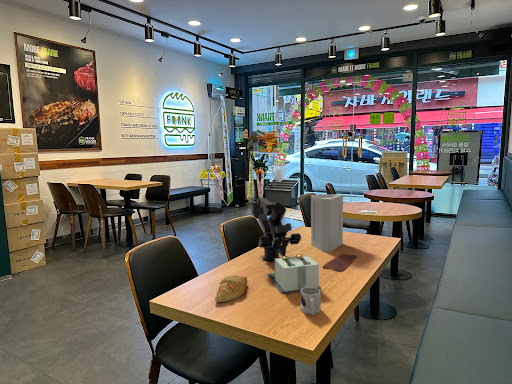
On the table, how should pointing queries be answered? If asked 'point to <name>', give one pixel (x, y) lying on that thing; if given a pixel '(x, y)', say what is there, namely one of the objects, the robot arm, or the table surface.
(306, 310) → the mug
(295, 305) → the table surface
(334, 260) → the wooden tablet
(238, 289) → the croissant
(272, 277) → the base plate
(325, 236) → the paper bag
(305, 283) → the two-slot toaster
